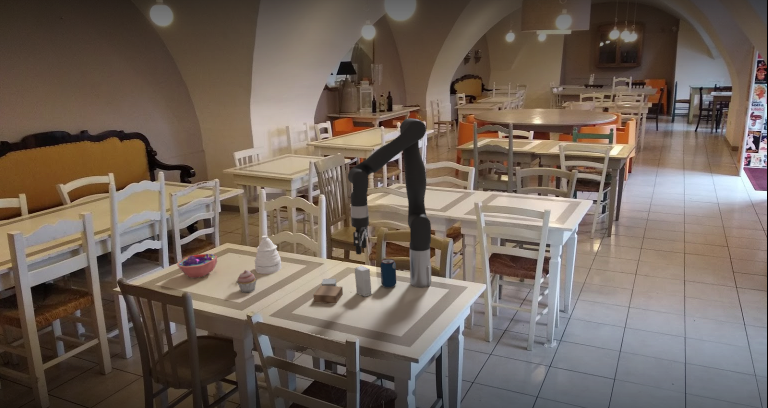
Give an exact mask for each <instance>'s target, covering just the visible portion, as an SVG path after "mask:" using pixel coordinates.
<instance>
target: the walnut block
mask: <svg viewBox="0 0 768 408" xmlns="http://www.w3.org/2000/svg"><path fill="white" fill-rule="evenodd" d="M342 296H343V286H339V285H338V286H337V285H336V286H322V285H320V286H319V287H318V288H317V289H316V291H315V292H314V294H313V303H316V304H317V303H318V304H332V305H336V304H337V303H338V302H339V300H340V299H341V298H342Z"/></svg>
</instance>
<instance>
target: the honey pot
mask: <svg viewBox="0 0 768 408" xmlns="http://www.w3.org/2000/svg"><path fill="white" fill-rule="evenodd" d="M277 248H278V245H276V244H274V243H273V241H272V240H271V239H270V237H268V235H262V236H261V240H260V243H259V245H258V246H257V247H256V251H257V252H256V254H255V259H254V267H255V272H256V273H258V274H262V275H267V274H274V273H277V272H279V271H281V270H282V259H281V256H280V254H279V251H278V250H277ZM280 269H281V270H280Z"/></svg>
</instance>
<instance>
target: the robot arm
mask: <svg viewBox="0 0 768 408" xmlns="http://www.w3.org/2000/svg"><path fill="white" fill-rule="evenodd" d="M399 128H400V129H399V133H400V134H399V135H398V136H397V137H396V138H394V139H392V140H391V141H390V142H388V143H386V144H384V145H382V146H381V147H379V148H378V149H376V150H375V151H374V152H373V153H372V154H370V155H369V156H368V157H367V158H366V159H364V160H362V161H361V162H360V163H358V164H356V165H355V166H353V167H352V168H351V169H350V170H349V171H348V173H347V180H348V182H349V183H351V184H352V191H351V193H350V219H351V226H352V227H353V228H355V231H354V232H353V234H352V237H353V247H355V254H356V255H362V249H367V245H368V244H367V240H368V237H369V231H368V226H369V225H370V219H369V218H370V217H369V216H370V215H369V206H368V205H369V204H368V189H369V176H370V175H371V174H373V173H374V174H375V173H377V172H379V170H381V169H382V168H383V167H385V165H387V164H388V163H389V162H390V161H392V160H393V159H394V158H395V157H396V156H398V155H399V154H400V153H402V152H403V163H404V165H403V167H404V180H405V181H404V183H405V189H406V190H405V191H406V197H407V201H408V202H407V203H408V205H407V207H408V209H407V211H408V212H407V214H408V215H407V225H408V228H409V229H410V231H409V233H410V239H409V272H410V273H409V276H410V279H409V281H410V285H411V286H413V287H414V288H415V287H416V288H427V287H430V286H431V284H432V262H431V242H432V224H431V221H430V219H429V217H428V216H427V212H426V206H425V195H426V189H427V174H426V173H427V172H426V167H425V164H424V161H423V158H422V155H421V152H420V143H419V142H420V140H421V139H422V138H424V136H425V134H426V132H427V126H426V124H425V123H424V122H423V121H422V120H419V119H417V118H405V119H404V120H403V121H401V124H400V126H399Z"/></svg>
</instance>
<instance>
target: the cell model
mask: <svg viewBox="0 0 768 408" xmlns="http://www.w3.org/2000/svg"><path fill="white" fill-rule="evenodd" d="M217 264H218V256H217V255H216V254H213V253H203V254H201V253H200V254H194V255H188V256H186V257H184V258H183V259H181V260H180V261H178V262H177V264H176V265H177V267H178V269H179V270H180V271H181V272H182V273H183V274H184V275H185V276H187V277H188V278H192V279H197V278H202V277H205V276H207V275H209V274H210V273H212V272H213V270H214V269H215V268H216V265H217Z"/></svg>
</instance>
